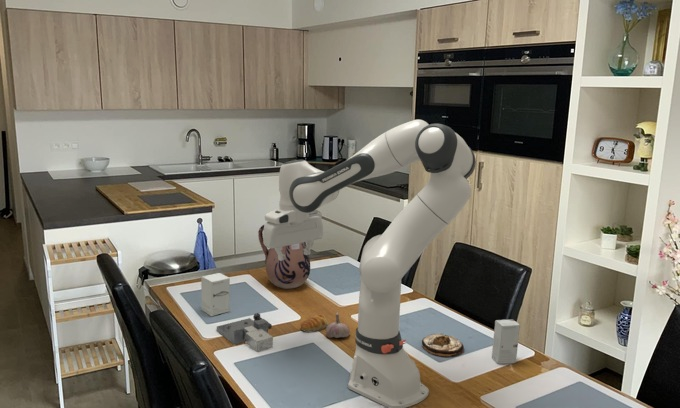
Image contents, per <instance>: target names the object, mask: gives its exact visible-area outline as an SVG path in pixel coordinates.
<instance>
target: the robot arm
mask: <svg viewBox="0 0 680 408" xmlns="http://www.w3.org/2000/svg"><path fill="white" fill-rule="evenodd" d="M420 161H421V164H422V166H423V169H424V170H425V171H426V172H427V173H429V174H430V177H429V180H428V182H427V183H426V184H425V186H424V187H423V188H422V189H421V190H420V191H419V192H417V194H416V195H414V197H412V199H411V200H410V201H409V202H408V203H407V204H406V205H405V206H404V208H403V209H402V210H401V211H399V213H397V215H396V216H395V217H394V219H393V220H392V221H391V223H390V224H389V226H387V228H386V229H385V230H384V232H383V233H382V234H378V235H375V236H373V237H371V238H370V239H369V240H367V242H366V243H365V245H364V246H363V248H362V251H361V256H360V257H361V258H360V263H359V265H358V266H359V267H358V268H359V270H358V271H359V276H360V281H359V282H360V284H359V294H358V295H359V296H358V297H359V298H358V315H357V316H358V317H357V327H356V329H355V344H356V346H355V351H354V355H353V359H352V366H351V371H350V373H349V376H348V377H349V381H348V384H347V388H348V389H349V390H351V391H353V392H354V393H357V394H359V395H361V396H363V397H366V398H367V399H369V400H371V401H373V402H376V403H378V404H380V405H382V406H385V408H386V407H387V408H410V407H412V406H415V405H417V404H418V403H421V402H423V401H424V400H425V399H426V398H428V396H429V394H430V390H429V388H428V387H427V386H426V385H425V384H423V382H421V373H420V369H419V368H418V367H417V364H416V361H415V360H414V359H411V358H410V356H409V354H408V353H407V351H406V350H405V348H403V347H404V345H405V344H406V341H407V340H406V339H403V338H402V336H401V331H400V313H401V312H400V311H401V293H402V292H401V291H402V279H403V277H404V276H406V274H407V273H408V272H409V270H410V269H411V268H412V267H413V265H414V264H415V263H416V262H417V260H418V259H419V258H420V256H421V255H422V254H423V252H424V251H425V250H426V248H427V247H428V246H430V244H431V243H432V242H433V241H434V240H435V239H436V238H437V237H438V236H439V235H440V234H441V233H442V232H443V231H444V229H446V228H447V226H448V225H450V223H452V222H453V221H454V219H455V218H456V217H458V215H459V214H460V213H461V211H462V210H463V208H464V207H465V205H466V204H467V203H468V201H469V199H470V198H471V195H472V187H471V185H470V183H469V181H468V180H467V179H469V178H470V177H471V175H473V173H474V171H475V169H476V164H477V162H476V157H475V153H474V151H473V150H472V148H471V147H470V146H468V144H467V142H466V141H465V139H464V138H463V137H462V136H460V135H459V134H458V133H457V132H455V130H454V129H452V127H450V126H448V125H445V124H442V123H430V124H429V123H428V122H427V121H425V120H423V119H413V120H410V121H408V122H405V123H402V124H399V125H397V126H395V127H392V128H390V129H388V130H386V131H385V132H383V133H382V134H380V135H379V136H376V138H374V139H372V140H371V141H370V142H368V143H367V144H366V145H364V146H363V147H362V148H361V149H360V150H358V151H357V152H356V153H354V154H353V155H352V156H350V157H349V158H347V159H346V160H344V161H342V162H341V163H339V164H337V165H335V166H333V167H332V168H330V169H328V170H326V171H323V170H320V169H319V168H316V167H314V166H313V165H311V164H310V163H309V162H308V161H307V160H304V159H295V160H290V161H286V162H284V163H282V164H281V166H280V169H279V176H278V191H279V194H280V195H279V196H280V198H279V201H278V202H279V203H278V205H279V206H278V207H276V208H275V209H273V210H270V211H269V212H267V213H266V214H265V215H264V220H265V221H266V222H265V223H264V224H265V226H264V230H263V232H262V233H263V243H264V245H265V246H266V247H267V249H273V248H275V251H276V252H277V254H278V260H280V261H282V260H285V254H282V252H281V250H282V247H283V246H288V245H292V244H297V243H302V242H306V248H305V249H303V251H304V252H303V253H304V255H309V256H310V255H311V249H312V247H313V246H314V241H317V240H321V239H322V238H323V237H324V227H323V221H322V220H323V218H322V217H323V215H322V213H321V211H319V210H318V209H319V208H320V207H323V206H326V205H327V204H330V203H331V202H333V201H334V200H336V198H338V196H339V193H340V190H342V189H345V188H346V187H348V186H350V185H353V184H355V183H358V182H360V181H364V180H368V179H373V178H377V177H381V176H385V175H389V174H392V173H395V172H397V171H400V170H402V169H405V168H407V167H408V166H410V165H412V164H414V163H416V162H420Z"/></svg>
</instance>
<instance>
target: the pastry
mask: <svg viewBox="0 0 680 408" xmlns="http://www.w3.org/2000/svg"><path fill="white" fill-rule="evenodd" d="M328 325H329V322H328V320H327V318H326V316H325V315H324V314H316V315H312V316H309V317H308V318H306V319H305V320H304V321H303V322H301V323H300V327H299V329H300V330H301V331H304V332H306V333H311V332H317V331H321V330H324V329H326V327H327V326H328Z"/></svg>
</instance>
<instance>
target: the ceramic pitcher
mask: <svg viewBox="0 0 680 408" xmlns="http://www.w3.org/2000/svg"><path fill="white" fill-rule="evenodd" d="M265 224H266V223H264V224H262V225H261V226H260V228H259V230H258V231H257V233H258V242H259V244H260V247H261V249H262V251H263V253H264V257H265V259H264V263H265V270H266V275H267V278H268V279H269V281H270V282H271V284H273V285H274V286H276V287H277V288H280V289H284V290H292V289H296V288H299V287H301V286H302V285H303V284H304V283H305V282H307V280H308V278H309V277H310V274H311V261H310V255H304V253H303V252H304V251H303V249H305V248H306V246H307V243H306V242H302V243H297V244H292V245H288V246H283V247H282V250H281V252H282V254H285V260H282V261H280V260H278V254H277V252H276V251H275V248H273V249H270V248H268V247H266V246H265V245H264V243H263V232H264V226H265Z"/></svg>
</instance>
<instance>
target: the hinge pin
mask: <svg viewBox="0 0 680 408" xmlns="http://www.w3.org/2000/svg"><path fill="white" fill-rule="evenodd" d="M253 319H254V321H257V320H261V319H263V318H262V317H261V314H260V313H259V312H256V313H254V314H253ZM272 327H273V326H272V324H271V323H270V322H268V330H269V329H271V328H272Z"/></svg>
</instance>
